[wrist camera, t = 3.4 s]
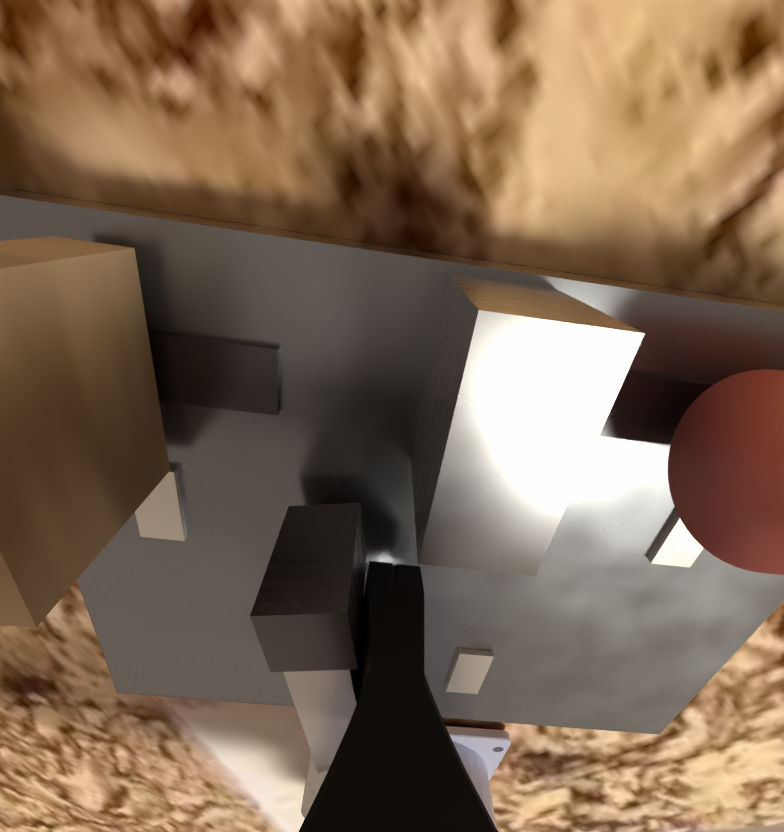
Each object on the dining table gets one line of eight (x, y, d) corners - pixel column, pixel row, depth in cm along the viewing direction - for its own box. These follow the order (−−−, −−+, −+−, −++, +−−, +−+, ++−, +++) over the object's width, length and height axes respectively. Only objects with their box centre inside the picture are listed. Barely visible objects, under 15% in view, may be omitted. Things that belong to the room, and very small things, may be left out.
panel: (639, 694, 18) (714, 844, 14) (134, 653, 16) (46, 804, 12) (934, 327, 10) (1337, 416, 6) (-2, 187, 8) (-390, 168, 4)
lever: (394, 692, 14) (394, 829, 11) (328, 694, 14) (309, 831, 11) (372, 499, 10) (361, 633, 7) (278, 503, 10) (225, 638, 7)
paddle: (170, 470, 9) (36, 627, 6) (110, 463, 9) (-62, 618, 6) (134, 247, 7) (-124, 288, 4) (54, 236, 7) (-292, 265, 3)
